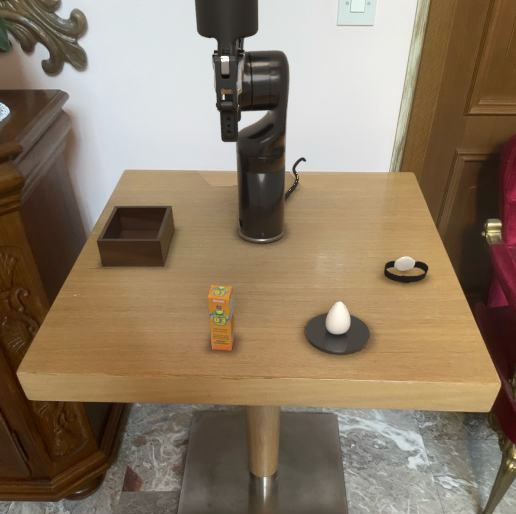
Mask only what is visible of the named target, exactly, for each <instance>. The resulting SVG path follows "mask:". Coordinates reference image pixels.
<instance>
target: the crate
mask: <svg viewBox="0 0 516 514" xmlns="http://www.w3.org/2000/svg"><path fill="white" fill-rule="evenodd" d="M173 215H174V213H173V207H172V205H114V206H113V208H112V210H111V212H110V214H109V216H108V218H107V220H106V222H105V224H104V226H103V228H102V229H101V231H100V233H99V235H98V237H97V239H96V245H97V249H98V253H99V257H100V261H101V262H100V263H101V267H164V266H165V265H166V261H167V257H168V254H169V251H170V247H171V243H172V241H173V237H174V234H175V231H176V230H175V222H174V216H173Z"/></svg>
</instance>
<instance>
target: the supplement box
mask: <svg viewBox="0 0 516 514" xmlns="http://www.w3.org/2000/svg"><path fill="white" fill-rule="evenodd" d="M207 306H208V320H209V331H210V332H209V333H210V342H211V343H210V344H211V350H214V351H229V352H231V351H232V349H233V347H234V344H235V339H236V332H235V314H234V313H235V311H234V288H233V286H232V285H227V286H226V285H217V284H211V285H210V286H209V291H208V295H207Z"/></svg>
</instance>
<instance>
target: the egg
mask: <svg viewBox="0 0 516 514" xmlns="http://www.w3.org/2000/svg"><path fill="white" fill-rule="evenodd" d="M327 313H328V315H327V317H326V328H327V330H328V331H329V332H330V333H332V334H343V333H345V332H346V331H347V330H348V329H349V327H350V322H351V319H350V315H351V314H350V312H349V310H348V308H347V306H346V304H345V303H344V302H342V301H341V300H340V301H336V302H335V303H334V304H333V305H332V306H331V308H330V309H329V311H328V312H327Z"/></svg>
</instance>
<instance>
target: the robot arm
mask: <svg viewBox="0 0 516 514" xmlns="http://www.w3.org/2000/svg"><path fill="white" fill-rule="evenodd" d="M194 5H195V6H194V9H195V23H196V32H197V34H198V35H199V36H200V37H203V38H204V39H205V38H206V39H215V41H216V43H217V45H216V47H217V49H213V53H212V54H211V64H212V65H211V66H212V70H213V88H214V92H215V98H216V100H215V101H216V102H215V108H216V111H218V113H219V122H220V123H219V124H220V139H221V141H222V142H223V143H235V156H236V158H235V159H236V181H237V184H236V185H237V207H238V209H237V211H238V217H237V224H238V235H239V236H240V238H241V239H243V240H244V241H247V242H250V243H255V244H268V243H272V242H276V241H278V240H280V239H282V238H283V236H284V235H285V205H286V204H285V203H286V201H287V199H288V197H289V196H290V195H291V194H292V192H293V191H294V190H295V189H296V187H297V186H298V184H299V180H300V177H299V174H298V172H297V169H296V168H297V166H298V165H299V164H300V163H301V162H304V163H306V162H307V159H306V158H305V157H303V156H302V157H299V158H298V159H297V160H296V161H295V162H294V164H293V165H292V168H291V171H292V173H293V175H294V178H295V180H294V182H293V184H292V186H291V187H289V189H288V190H287V191H286V154H287V129H288V127H287V126H288V123H287V122H288V108H289V95H290V82H291V81H290V79H291V78H290V77H291V76H290V64H289V60H288V57H287V54H286V53H285V52H284V51H283V50H277V49H272V50H271V49H269V50H268V49H267V50H248V51H247V50H246V49H244V47H245V39H247V38H250V37H253V36H255V35H257V33H258V31H259V0H194ZM223 97H224V99H223ZM265 111H266V113H265V114H264V115H263V116H262V117H261V118H260V119H258V120H256V121H255V122H254V123H252V124H249V125H247V126H245V127H243V128H241V129H240V130H239V122H241V120H242V113H245V112H246V113H247V112H265ZM296 173H297V174H296ZM297 175H298V179H297ZM296 181H297V182H296ZM294 184H295V185H294ZM290 189H291V190H290ZM289 190H290V191H289Z"/></svg>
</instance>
